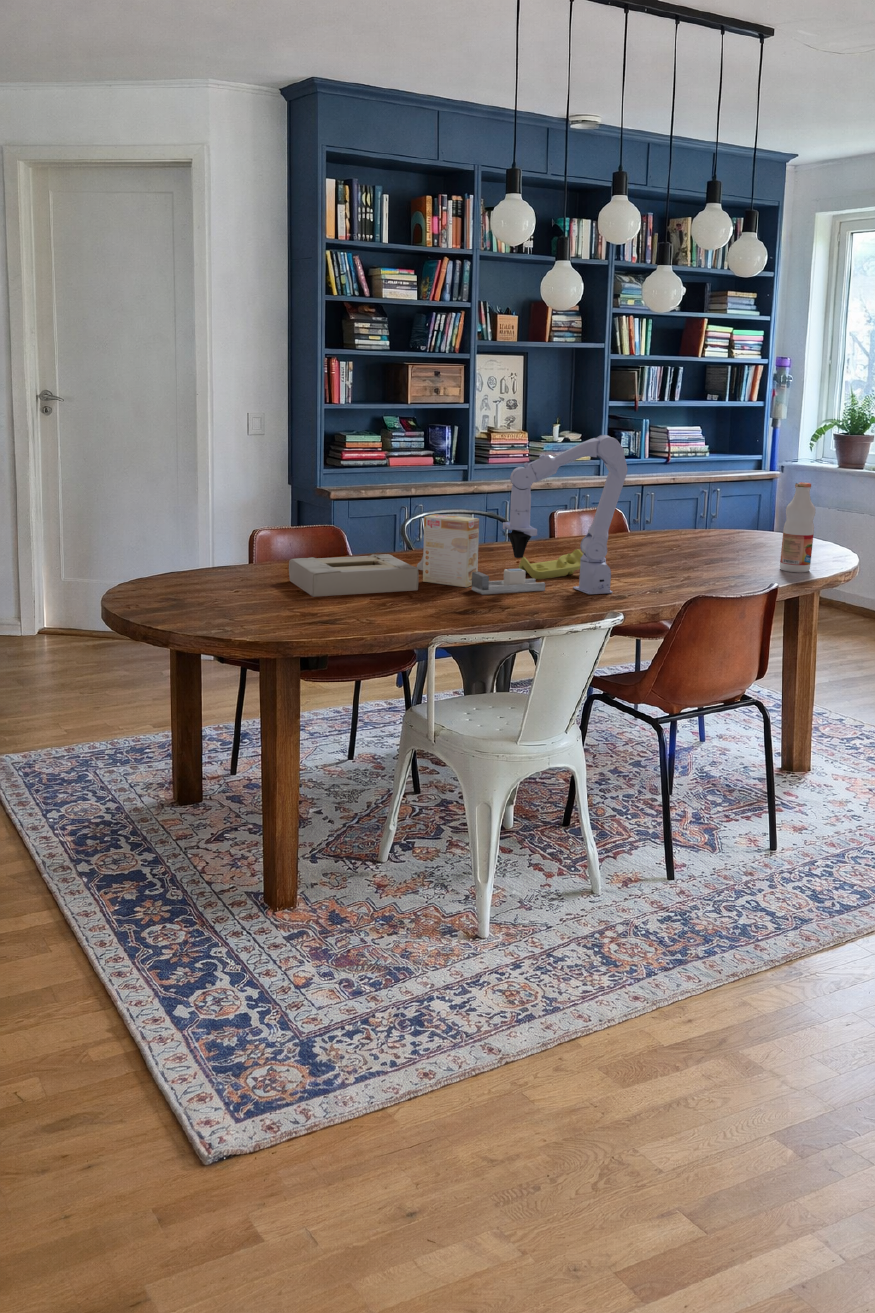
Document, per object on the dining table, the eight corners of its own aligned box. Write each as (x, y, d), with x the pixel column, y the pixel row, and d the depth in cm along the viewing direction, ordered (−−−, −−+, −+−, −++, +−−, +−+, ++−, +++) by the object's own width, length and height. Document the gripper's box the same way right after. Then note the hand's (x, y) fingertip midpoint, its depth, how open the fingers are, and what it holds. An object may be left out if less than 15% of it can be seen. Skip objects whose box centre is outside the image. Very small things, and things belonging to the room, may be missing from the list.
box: (390, 577, 356) (288, 582, 344) (390, 551, 354) (288, 556, 342) (419, 593, 336) (312, 599, 323) (420, 566, 334) (312, 571, 321)
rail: (544, 590, 339) (545, 572, 337) (481, 594, 331) (482, 576, 330) (533, 585, 345) (534, 568, 344) (471, 589, 337) (472, 571, 336)
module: (524, 586, 338) (525, 570, 337) (509, 587, 336) (509, 571, 335) (519, 583, 341) (519, 567, 340) (503, 584, 339) (504, 568, 338)
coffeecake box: (478, 584, 346) (480, 517, 341) (466, 588, 340) (468, 520, 335) (434, 578, 353) (435, 513, 348) (421, 581, 347) (423, 515, 342)
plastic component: (535, 572, 353) (520, 553, 359) (530, 592, 358) (516, 573, 364) (592, 564, 361) (576, 545, 367) (586, 583, 365) (571, 564, 372)
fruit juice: (776, 567, 385) (785, 480, 378) (806, 568, 384) (815, 481, 377) (782, 572, 376) (791, 484, 369) (812, 573, 375) (821, 485, 368)
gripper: (494, 507, 337) (493, 554, 341) (523, 514, 325) (521, 562, 329) (514, 506, 341) (513, 552, 344) (544, 512, 329) (542, 560, 332)
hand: (518, 557), depth 337 cm, fingers closed
